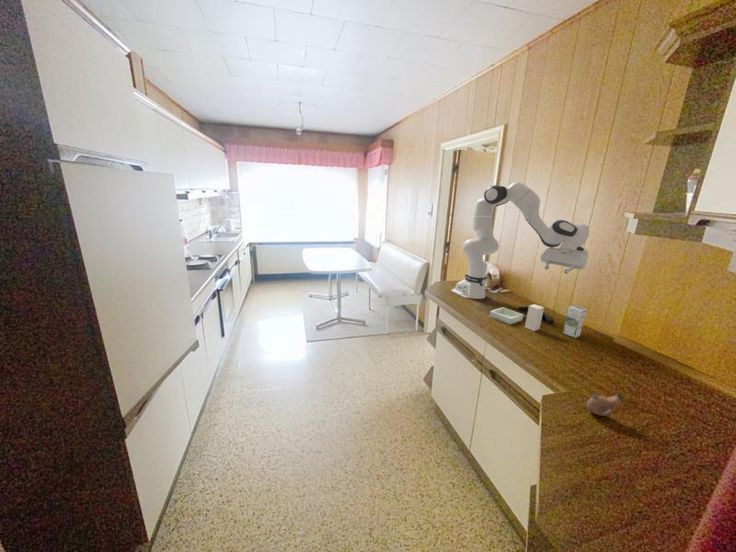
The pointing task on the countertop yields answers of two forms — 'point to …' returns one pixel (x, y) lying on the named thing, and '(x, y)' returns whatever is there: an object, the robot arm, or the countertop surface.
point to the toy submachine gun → (544, 316)
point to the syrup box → (574, 321)
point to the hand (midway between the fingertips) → (555, 270)
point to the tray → (506, 315)
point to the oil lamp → (603, 404)
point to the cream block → (534, 317)
